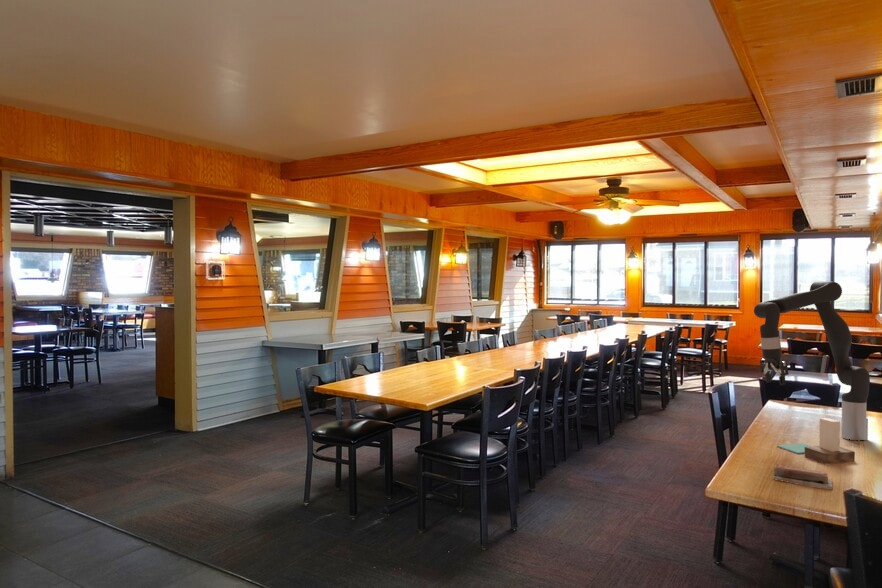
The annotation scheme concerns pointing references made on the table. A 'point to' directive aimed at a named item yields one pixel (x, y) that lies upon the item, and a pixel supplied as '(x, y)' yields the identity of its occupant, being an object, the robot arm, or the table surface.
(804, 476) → the packaged product
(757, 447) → the table surface
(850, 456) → the block
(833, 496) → the table surface
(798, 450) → the mat
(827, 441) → the beige rectangular block
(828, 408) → the table surface
